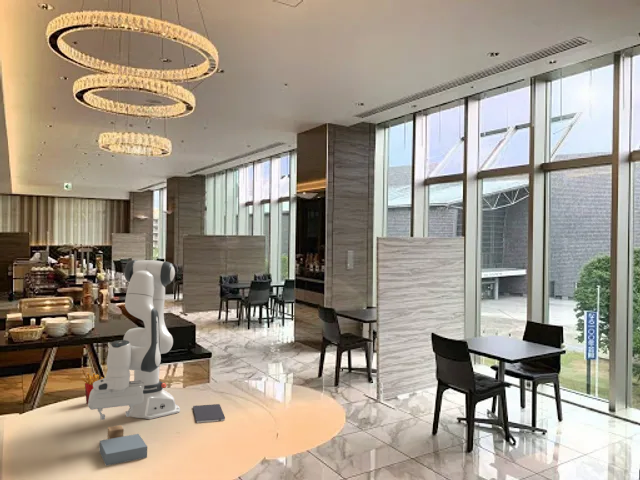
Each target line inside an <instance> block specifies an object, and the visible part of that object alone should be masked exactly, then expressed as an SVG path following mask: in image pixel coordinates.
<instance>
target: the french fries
mask: <svg viewBox="0 0 640 480" xmlns="http://www.w3.org/2000/svg"><path fill="white" fill-rule="evenodd" d="M86 374H87V377H86V379H85V378H84V377H81V380H82V381H83V382H84V389H85V402H86V404H87V405H88V400H89V395H90V392H91V390H92V389H93V383H94V382H95V381H98V380H101V379H103V378H104V377H103V376H101V377H100V375H99V374H98V373H97V374H96V372H94V373H92V375H90V372H87V373H86Z"/></svg>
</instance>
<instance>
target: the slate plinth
mask: <svg viewBox="0 0 640 480" xmlns="http://www.w3.org/2000/svg"><path fill="white" fill-rule="evenodd" d="M98 450H99V451H98V452H99V455H100V456H101V458H102V460H103V463H104V465H105V466H106V467H108V466H112V465H118V464H121V463H127V462H131V461H136V460H141V459H146V458H148V445H147V443H146V442H145V441H144V440H143V438H142V436H141V435H140V433H136V434H130V435H123V437H117V438H112V439H107V438H106V439H101V440H99V449H98Z"/></svg>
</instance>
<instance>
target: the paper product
mask: <svg viewBox="0 0 640 480" xmlns="http://www.w3.org/2000/svg"><path fill="white" fill-rule="evenodd" d="M192 409H193V410H192V411H193V414H194V418H195V423H196V424H200V423H213V422H224V421H225V420H226V417H225V414H224V411H223V410H222V406H221V404H220V403H215V404H204V405H203V404H202V405H193V406H192Z"/></svg>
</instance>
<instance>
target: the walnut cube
mask: <svg viewBox="0 0 640 480" xmlns="http://www.w3.org/2000/svg"><path fill="white" fill-rule="evenodd" d="M124 431H125V430H124V427H123V426H122V424H120V425H119V424H118V425H114V426H113V425H112V426H107V436H106V439H112V438H117V437H123V436H124Z"/></svg>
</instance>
